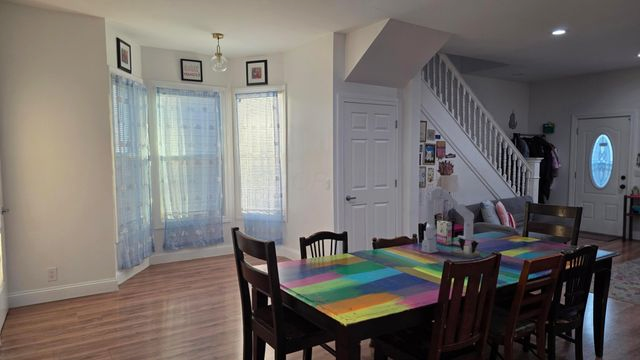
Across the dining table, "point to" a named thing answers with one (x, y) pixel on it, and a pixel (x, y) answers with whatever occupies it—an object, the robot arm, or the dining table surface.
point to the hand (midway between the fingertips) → (468, 251)
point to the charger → (468, 249)
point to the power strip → (462, 254)
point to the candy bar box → (444, 232)
